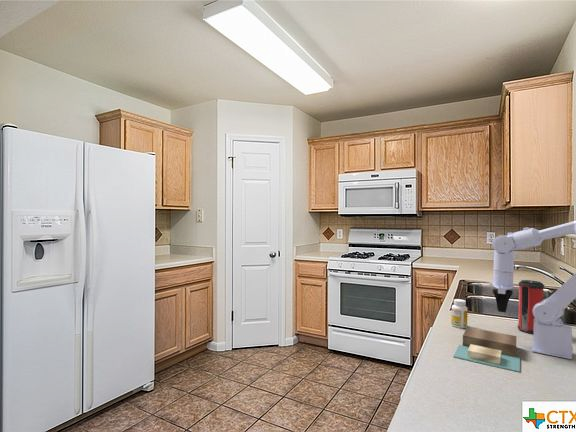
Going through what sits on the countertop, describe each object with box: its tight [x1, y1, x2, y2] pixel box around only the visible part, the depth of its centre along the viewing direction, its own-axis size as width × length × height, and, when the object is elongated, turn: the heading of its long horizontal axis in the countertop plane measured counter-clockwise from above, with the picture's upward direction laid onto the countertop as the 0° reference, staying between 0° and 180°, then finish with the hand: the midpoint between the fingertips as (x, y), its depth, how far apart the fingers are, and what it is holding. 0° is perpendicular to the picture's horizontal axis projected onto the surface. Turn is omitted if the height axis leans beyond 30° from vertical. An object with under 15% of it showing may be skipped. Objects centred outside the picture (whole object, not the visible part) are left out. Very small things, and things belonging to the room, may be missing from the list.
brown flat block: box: [462, 326, 518, 357], centre depth 109 cm, size 14×10×4 cm
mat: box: [453, 344, 521, 373], centre depth 100 cm, size 16×11×1 cm
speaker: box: [517, 279, 546, 335], centre depth 125 cm, size 8×8×18 cm
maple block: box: [468, 344, 502, 365], centre depth 99 cm, size 8×6×2 cm
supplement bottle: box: [450, 298, 468, 329], centre depth 129 cm, size 5×5×10 cm
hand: (501, 311), depth 115 cm, fingers closed
